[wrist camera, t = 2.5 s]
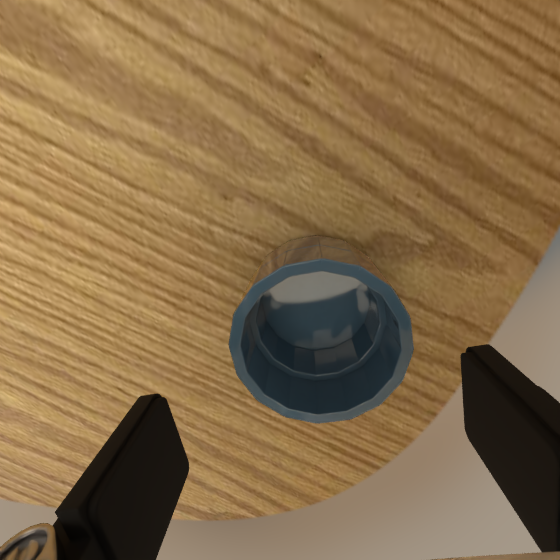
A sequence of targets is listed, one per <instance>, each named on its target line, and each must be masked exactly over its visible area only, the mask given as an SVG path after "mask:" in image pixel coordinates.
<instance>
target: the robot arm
mask: <svg viewBox="0 0 560 560" xmlns="http://www.w3.org/2000/svg"><path fill="white" fill-rule="evenodd" d="M461 373H462V389H463V407H464V423H465V431H466V434H467V437H468V439H469V441H470V442H471V444H472V445H473V447H474V448H475V450H476V451H477V453H478V455H479V456H480V458H481V459H482V460H483V462H484V464H485V465H486V467H487V468H488V470H489V471H490V473H491V474H492V476H493V478H494V479H495V481H496V482H497V484H498V485H499V487H500V488H501V490H502V491H503V493H504V495H505V496H506V498H507V499H508V501H509V502H510V504H511V505H512V507H513V508H514V510H515V511H516V513H517V515H518V516H519V518H520V519H521V521H522V522H523V524H524V525H525V527H526V528H527V530H528V531H529V533H530V535H531V536H532V537H533V539H534V541H535V542H536V544H537V545H538V547H539V548H540V550H541V551H542V553H524V554H507V555H489V556H473V557H459V558H446V559H434V560H560V403H559V402H558V401H557V400H556V399H554V398H553V397H552V396H551V395H550V394H549V393H547V392H546V391H545V390H544V389H542V388H541V387H539V386H537V385H535V384H534V383H533V382H532V381H531V380H530V379H529V378H527V377H526V376H525V375H524V374H523V373H522V372H520V371H519V370H518V369H517V368H516V367H515V366H514V365H512V364H511V363H510V362H509V361H508V360H507V359H506V358H504V357H503V356H502V355H501V354H500V353H499V352H498V351H496V350H495V349H494V348H493V347H492V346H490V345H488V344H486V345H480V346H473V347H468V348H467V349H466V353H462V354H461ZM188 472H189V462H188V458H187V456H186V453H185V450H184V447H183V444H182V442H181V439H180V436H179V433H178V430H177V427H176V425H175V422H174V419H173V416H172V413H171V411H170V408H169V405H168V402H167V400H166V398H164V397H161V395H160V394H151V395H144V396H140V397H139V398H138V399H137V401H136V402H135V403H134V405H133V406H132V408H131V409H130V410H129V412H128V413H127V414H126V416H125V417H124V418H123V420H122V421H121V423H120V424H119V425H118V427H117V428H116V429H115V431H114V432H113V434H112V435H111V436H110V438H109V439H108V440H107V442H106V443H105V444H104V446H103V447H102V449H101V450H100V451H99V453H98V454H97V455H96V457H95V458H94V459H93V461H92V462H91V464H90V465H89V466H88V468H87V469H86V470H85V472H84V473H83V475H82V476H81V477H80V479H79V480H78V481H77V483H76V484H75V485H74V487H73V488H72V490H71V491H70V492H69V494H68V495H67V496H66V498H65V499H64V500H63V502H62V503H61V505H60V506H59V507H58V509H57V510H56V511H55V513H56V515H57V517H58V519H57V520H56V522H55V523H54V525H53V526H52V525H50V524H48V523H40V524H37V525H33V526H30V527H28V528H26V529H25V530H23V531H21V532H19V533H18V534H16V535H15V536H14V537H12V538H10V539H9V540H8V541H7V542H5V543H4V544H3V545H2V546H1V547H0V560H156V558H157V555H158V552H159V550H160V547H161V544H162V542H163V539H164V536H165V534H166V531H167V528H168V526H169V523H170V520H171V518H172V515H173V512H174V510H175V507H176V505H177V502H178V499H179V497H180V494H181V491H182V489H183V486H184V483H185V481H186V478H187V475H188ZM432 560H433V559H432Z"/></svg>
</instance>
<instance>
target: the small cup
mask: <svg viewBox="0 0 560 560" xmlns="http://www.w3.org/2000/svg"><path fill="white" fill-rule="evenodd" d="M229 349H230V352H231V356H232V359H233V363H234V367H235V370H236V374H237V375H238V377H239V379H240V380H241V381H242V382H243V384H244V385H245V386H246V387H247V389H248V390H249V391H250V392H251V394H252V395H253V396H254V397H255V399H256V400H257V401H259V402H260V403H262V404H264V405H265V406H267V407H269V408H271V409H272V410H274V411H276V412H277V413H279V414H281V415H282V416H285V417H287V418H292V419H297V420H302V421H307V422H312V423H327V422H335V421H344V420H350V419H353V418H355V417H357V416H359V415H361V414H363V413H365V412H367V411H369V410H371V409H373V408H375V407H377V406H379V405H380V404H382V403H383V402H384V401H385V400H386V398H387V397H388V396H389V395H390V394H391V393H392V392H393V391H394V390H395V389H396V388H397V387H398V386H399V385H400V384H401V383H402V381H403V379H404V376H405V373H406V371H407V368H408V365H409V362H410V360H411V357H412V354H413V350H414V346H413V336H412V326H411V318H410V315H409V314H408V312H407V310H406V309H405V307H404V305H403V304H402V302H401V301H400V299H399V297H398V296H397V294H396V292H395V291H394V289H393V288H392V286H391V285H390V284H389V283H388V281H387V280H386V279H385V277H384V276H383V275H382V274H381V272H380V271H379V270H378V268H377V267H376V266H375V265H374V263H373V262H372V261H371V259H370V258H369V257H368V256H367V255H365V254H364V253H362V252H361V251H360V250H358V249H357V248H355V247H354V246H352V245H351V244H349V243H348V242H345V241H344V240H339V239H334V238H329V237H324V236H317V235H315V236H310V237H305V238H299V239H294V240H290V241H288V242H286V243H285V244H283V245H282V246H280V247H279V248H277V249H276V250H274V251H272V252H271V253H269V254H268V255H267V256H266V257H265V258H264V260H263V261H262V263H261V264H260V266H259V267H258V269H257V270H256V272H255V273H254V275H253V276H252V278H251V280H250V282H249V284H248V286H247V288H246V290H245V292H244V294H243V296H242V298H241V300H240V302H239V304H238V306H237V308H236V310H235V312H234V314H233V320H232V326H231V332H230V339H229Z"/></svg>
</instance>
